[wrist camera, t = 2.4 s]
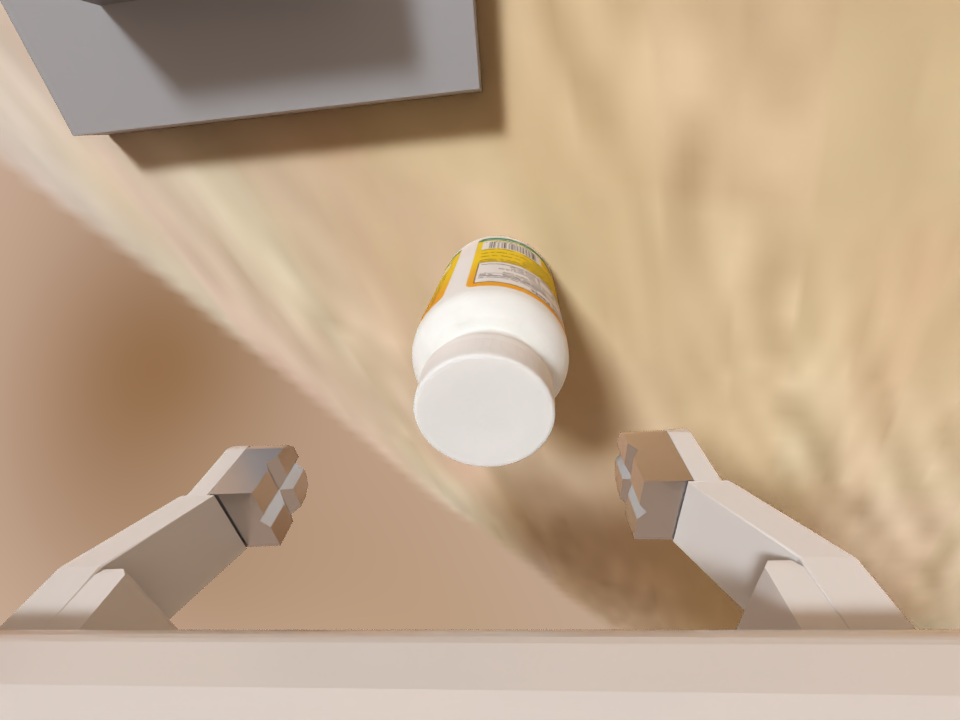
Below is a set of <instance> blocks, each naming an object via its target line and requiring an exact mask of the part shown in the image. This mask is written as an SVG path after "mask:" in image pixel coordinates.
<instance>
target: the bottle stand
mask: <svg viewBox="0 0 960 720" xmlns="http://www.w3.org/2000/svg"><path fill="white" fill-rule="evenodd" d="M0 1H1V3H2V5H3V7H4V9H5V10H6V12H7V14H8V16H9V18H10V20H11V22H12V23H13V25H14V27H15V29H16V31H17V33H18V35H19V36H20V38H21V40H22V42H23V44H24V46H25V48H26V49H27V51H28V53H29V55H30V57H31V59H32V60H33V62H34V64H35V66H36V68H37V70H38V72H39V73H40V75H41V77H42V79H43V81H44V83H45V85H46V86H47V88H48V90H49V92H50V94H51V96H52V97H53V99H54V101H55V103H56V105H57V107H58V109H59V110H60V112H61V114H62V116H63V118H64V120H65V122H66V123H67V125H68V127H69V129H70V131H71V133H72V135H73V136H80V135H108V134H117V133H125V132H134V131H143V130H151V129H160V128H169V127H177V126H186V125H195V124H203V123H212V122H221V121H229V120H238V119H247V118H255V117H264V116H273V115H281V114H290V113H299V112H307V111H316V110H325V109H333V108H342V107H351V106H359V105H368V104H377V103H385V102H394V101H403V100H411V99H420V98H429V97H437V96H446V95H455V94H463V93H472V92H481V91H482V82H481V68H480V55H479V41H478V27H477V14H476V0H0Z"/></svg>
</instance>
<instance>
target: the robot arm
mask: <svg viewBox="0 0 960 720" xmlns="http://www.w3.org/2000/svg"><path fill="white" fill-rule="evenodd" d="M617 446H618V449H619V451H620V455H619V456H618V457H617V458H616V460H615V480H616V485H617V490H618V493H619V496H620V498H621V499H622V500H623V501H624V502H626V503H627V506H626V517H627V520H628V523H629V526H630V529H631V532H632V535H633V538H634V539H665V540H673V542H674V543H675V544H676V545H677V546H678V547H679V548H680V549H681V550H682V551H683V552H684V553H685V554H686V555H688V556H689V557H690V558H691V559H692V560H693V561H694V562H695V563H696V564H697V565H698V566H699V567H700V568H701V569H702V570H703V571H704V572H705V573H706V574H707V575H708V576H709V577H710V578H711V579H712V580H713V581H714V582H715V583H716V584H717V585H718V586H719V587H720V588H721V589H722V590H723V591H724V592H725V593H726V594H727V595H728V596H729V597H731V598H732V599H733V600H734V601H735V602H736V603H737V604H738V605H739V606H740V607H741V608H742V609H743V610H744V613H743V615H742V618H741V620H740V622H739V624H738V626H737V628H736V630H178V629H177V627H176V626H175V625H174V624H173V623H172V622H171V621H170V620H169V619H170V618H171V617H172V616H173V615H175V614H176V613H177V612H178V611H179V610H180V609H181V608H182V607H183V606H184V605H186V604H187V603H188V602H189V601H190V600H191V599H192V598H193V597H194V596H196V594H198V592H200V591H201V590H202V589H203V588H204V587H205V586H206V585H208V583H210V582H211V581H212V580H213V579H214V578H215V577H216V576H217V575H219V573H221V572H222V571H223V570H224V569H225V568H226V567H227V566H228V565H230V563H232V562H233V561H234V560H235V559H236V558H237V557H238V556H239V555H241V554H242V553H243V552H244V551H245V550H246V549H247V548H246V547H254V546H256V547H257V546H278V545H281V543H282V541H283V539H284V538H285V536H286V534H287V532H288V530H289V528H290V526H291V524H292V522H293V519H292V515H291V514H292V513H293V512H294V511H296V510H297V509H298V508H300V507H301V505H302V503H303V501H304V499H305V497H306V493H307V488H308V481H307V475H306V473H305V470H304V469H303V468H302V467H300V466H299V465H298V464H296V461H297V459H298V454H297V452H296V450H295V448H294V447H292V446H289V445H255V446H233V447H231V448H229V449H227V450H226V451H225V452H224V453H223V455H222V456H221V457H220V458H219V459H218V460H217V462H216V463H215V464H214V465H213V466H212V467H211V469H210V470H209V471H208V472H207V473H206V474H205V475H204V477H203V478H202V479H201V480H200V481H199V482H198V484H197V485H196V486H195V487H194V488H193V489H192V490H191V492H190V493H189V494H188V495H187V496H180V497H178V498H177V499H175V500H173V501H172V502H170V503H168V504H167V505H165V506H163V507H161V508H160V509H158V510H156V511H155V512H153V513H151V514H150V515H148V516H146V517H145V518H143V519H141V520H140V521H138V522H136V523H135V524H133V525H131V526H130V527H128V528H126V529H124V530H123V531H121V532H119V533H118V534H116V535H114V536H112V537H111V538H109V539H107V540H106V541H104V542H102V543H101V544H99V545H97V546H96V547H94V548H92V549H91V550H89V551H87V552H85V553H84V554H82V555H81V556H79V557H77V558H75V559H74V560H72V561H70V562H68V563H67V564H65V565H63V566H62V567H60V568H59V569H58V570H57V571H56V572H55V573H54V574H53V575H52V576H51V577H50V578H49V579H48V580H47V581H46V582H45V583H44V584H43V585H42V586H41V587H40V588H39V589H38V590H37V591H36V592H35V593H34V594H33V595H32V596H31V597H30V598H29V599H28V600H27V601H26V602H25V603H24V604H23V605H22V606H20V607H19V608H18V609H17V611H15V613H13V614H12V615H11V616H10V617H9V618H8V619H7V620H6V621H5V622H4V623H3V625H1V626H0V720H960V630H916V629H915V628H914V627H913V625H912V624H911V623H910V622H909V621H908V619H907V618H906V617H905V616H904V615H903V613H902V612H901V611H900V610H899V609H898V607H897V606H896V605H895V604H894V603H893V602H892V600H891V599H890V598H889V597H888V596H887V594H886V593H885V592H884V591H883V590H882V588H881V587H880V586H879V585H878V584H877V582H876V581H875V580H874V579H873V578H872V576H871V575H870V574H869V573H868V572H867V570H866V569H865V568H864V567H863V566H862V564H861V563H860V562H859V561H858V560H857V558H855V557H854V556H852V555H850V554H849V553H847V552H846V551H844V550H842V549H841V548H839V547H837V546H836V545H834V544H832V543H831V542H829V541H827V540H826V539H824V538H823V537H821V536H819V535H818V534H816V533H814V532H813V531H811V530H809V529H808V528H806V527H805V526H803V525H801V524H800V523H798V522H796V521H795V520H793V519H791V518H790V517H788V516H786V515H785V514H783V513H782V512H780V511H778V510H777V509H775V508H773V507H772V506H770V505H768V504H767V503H765V502H763V501H762V500H760V499H759V498H757V497H755V496H754V495H752V494H750V493H749V492H747V491H745V490H744V489H742V488H740V487H739V486H737V485H736V484H734V483H732V482H731V481H729V480H727V481H722V480H721V478H720V477H719V475H718V474H717V472H716V471H715V469H714V468H713V466H712V465H711V463H710V462H709V460H708V458H707V457H706V455H705V454H704V452H703V451H702V449H701V448H700V446H699V445H698V443H697V442H696V440H695V438H694V437H693V435H692V434H691V432H690V431H689V430H687V429H670V430H663V431H662V430H657V431H636V432H620V434H619V436H618V443H617Z"/></svg>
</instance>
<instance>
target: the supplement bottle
mask: <svg viewBox="0 0 960 720" xmlns="http://www.w3.org/2000/svg"><path fill="white" fill-rule="evenodd" d="M412 362H413V369H414V373H415V376H416V379H417V381H418V387H417V390H416V393H415V398H414V406H413V408H414V415H415V419H416V423H417V425H418V428H419V430H420V431H421V433H422V435H423V436H424V437H425V438H426V440H427V441H428V442H429V443H430V444H431V445H432V446H433V447H434V448H435V449H437V450H438V451H439V452H441V453H442V454H444V455H446V456H447V457H449V458H451V459H453V460H455V461H458V462H461V463H464V464H469V465H473V466H481V467H496V466H504V465H508V464H512V463H515V462H518V461H520V460H523V459H525V458H526V457H528V456H530V455H532V454H533V453H534V452H536V451H537V450H538V449H539V448H540V447H541V446H542V445H543V443H544V442H545V441H546V440H547V439H548V437H549V435H550V433H551V431H552V429H553V425H554V422H555V411H556V410H555V398H556V396H557V395H558V393H559V392H560V390H561V388H562V386H563V384H564V382H565V379H566V376H567V372H568V367H569V349H568V342H567V337H566V333H565V328H564V324H563V320H562V315H561V311H560V307H559V304H558V299H557V295H556V290H555V285H554V281H553V278H552V274H551V271H550V269H549V267H548V265H547V263H546V262H545V260H544V259H543V258H542V256H541V255H540V254H539V253H538V252H537V251H536V250H535V249H534V248H532V247H531V246H530V245H528V244H526V243H524V242H522V241H520V240H518V239H515V238H511V237H506V236H489V237H484V238H481V239H477V240H475V241H473V242H471V243H469V244H467V245H466V246H464V247H463V248H462V249H461V250H459V251H458V252H457V253H456V255H455V256H454V257H453V258H452V260H451V261H450V263H449V264H448V266H447V268H446V270H445V272H444V274H443V276H442V278H441V281H440V283H439V285H438V287H437V289H436V291H435V293H434V295H433V297H432V300H431V302H430V303H429V305H428V307H427V310H426V312H425V313H424V315H423V317H422V319H421V322H420V324H419V327H418V329H417V332H416V335H415V338H414V342H413V349H412Z"/></svg>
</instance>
